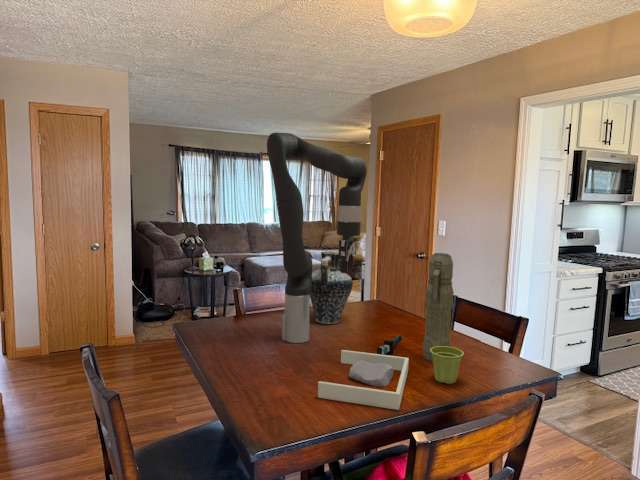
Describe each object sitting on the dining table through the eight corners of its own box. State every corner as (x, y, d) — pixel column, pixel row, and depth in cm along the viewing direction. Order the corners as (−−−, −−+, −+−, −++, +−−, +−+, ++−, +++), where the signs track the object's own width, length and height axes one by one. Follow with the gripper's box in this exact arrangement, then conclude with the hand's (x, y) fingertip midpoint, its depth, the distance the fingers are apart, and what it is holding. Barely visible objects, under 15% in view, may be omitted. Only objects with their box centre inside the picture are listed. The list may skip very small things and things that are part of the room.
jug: (309, 314, 198) (311, 248, 196) (352, 317, 196) (355, 250, 193) (301, 327, 178) (303, 253, 175) (349, 330, 175) (351, 255, 173)
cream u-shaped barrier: (317, 397, 115) (318, 382, 115) (341, 361, 141) (341, 349, 141) (398, 409, 109) (399, 394, 109) (408, 370, 135) (408, 357, 135)
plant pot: (442, 388, 123) (444, 358, 122) (422, 376, 131) (423, 347, 130) (469, 384, 126) (470, 354, 126) (447, 372, 135) (448, 344, 134)
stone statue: (419, 361, 143) (424, 254, 140) (425, 350, 154) (430, 251, 151) (447, 366, 140) (453, 256, 137) (451, 354, 151) (457, 253, 148)
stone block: (385, 395, 122) (395, 375, 131) (384, 379, 121) (394, 361, 130) (345, 387, 127) (357, 369, 136) (344, 373, 126) (356, 355, 135)
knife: (380, 361, 138) (381, 347, 138) (371, 359, 140) (372, 345, 140) (408, 345, 165) (409, 333, 165) (400, 343, 167) (401, 332, 167)
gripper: (342, 219, 147) (341, 267, 149) (331, 220, 134) (329, 273, 135) (365, 220, 145) (362, 268, 147) (355, 221, 132) (353, 275, 133)
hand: (346, 270), depth 141 cm, fingers open, 8 cm apart
